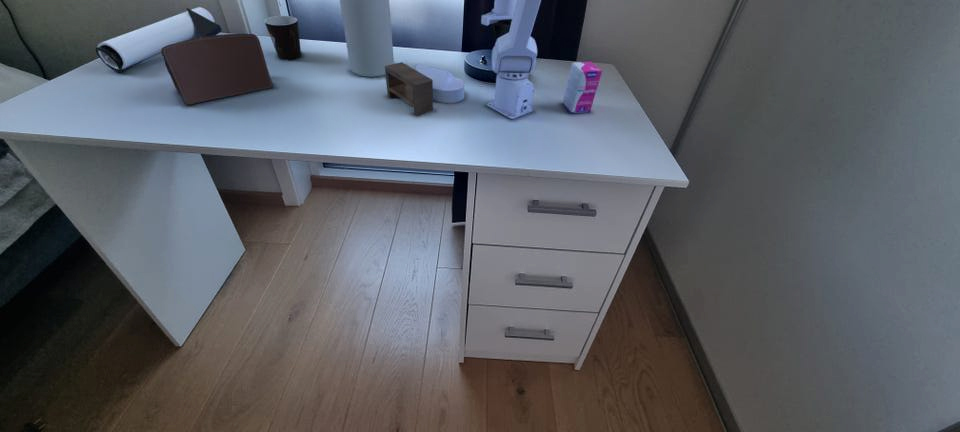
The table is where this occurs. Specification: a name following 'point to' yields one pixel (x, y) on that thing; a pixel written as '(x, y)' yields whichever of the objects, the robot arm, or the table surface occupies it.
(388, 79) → the walnut stand
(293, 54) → the coffee mug
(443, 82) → the wedge on round base
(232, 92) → the letter holder
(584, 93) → the supplement box
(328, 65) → the table surface
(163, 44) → the diploma
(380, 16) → the cylinder vase
